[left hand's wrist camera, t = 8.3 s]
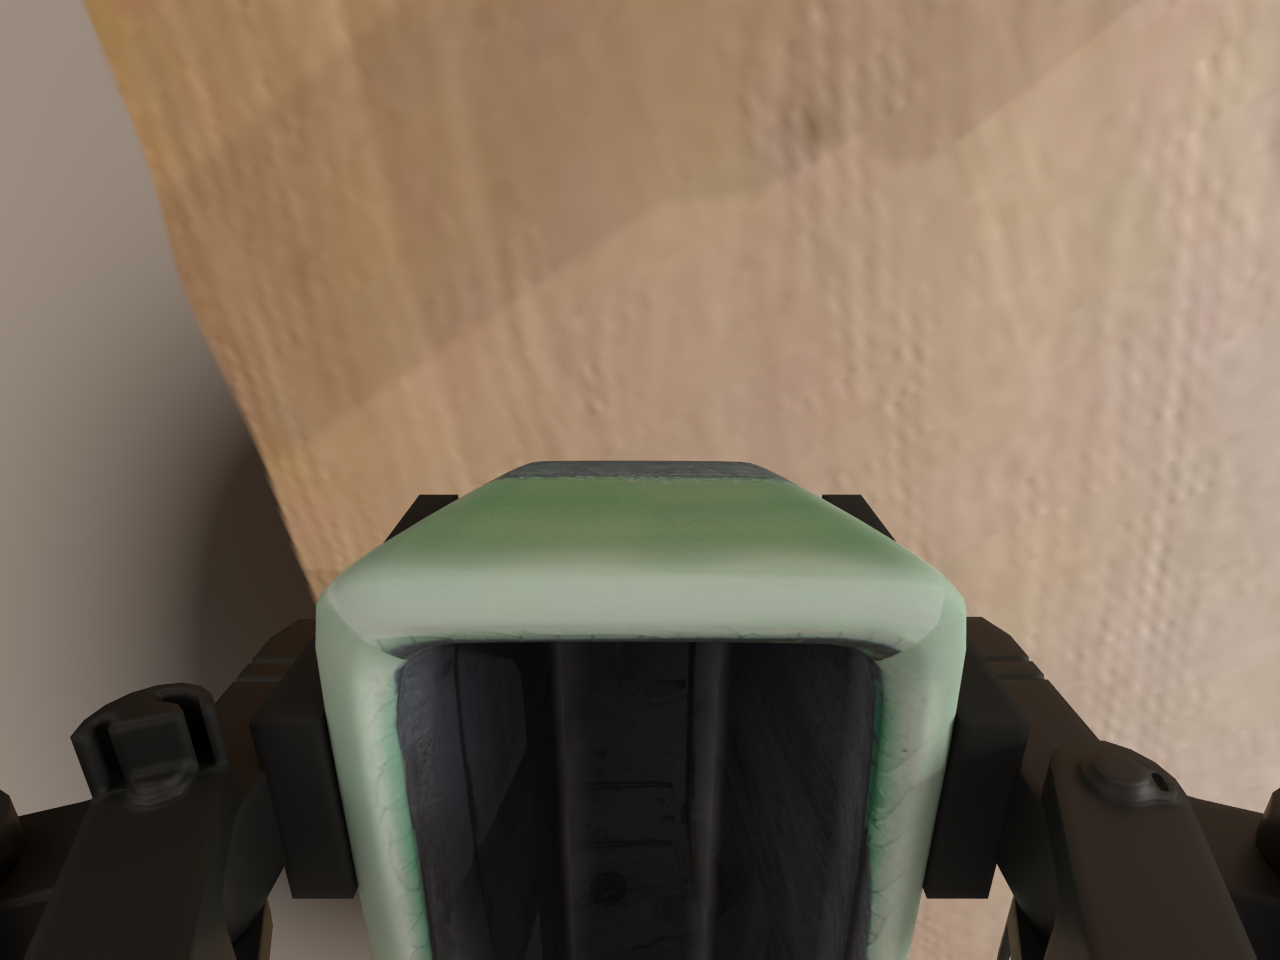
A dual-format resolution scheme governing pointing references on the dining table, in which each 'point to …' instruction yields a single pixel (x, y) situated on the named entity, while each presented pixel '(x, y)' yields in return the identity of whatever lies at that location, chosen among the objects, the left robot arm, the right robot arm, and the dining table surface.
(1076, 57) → the dining table surface
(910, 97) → the dining table surface
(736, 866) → the planter
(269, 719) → the left robot arm
